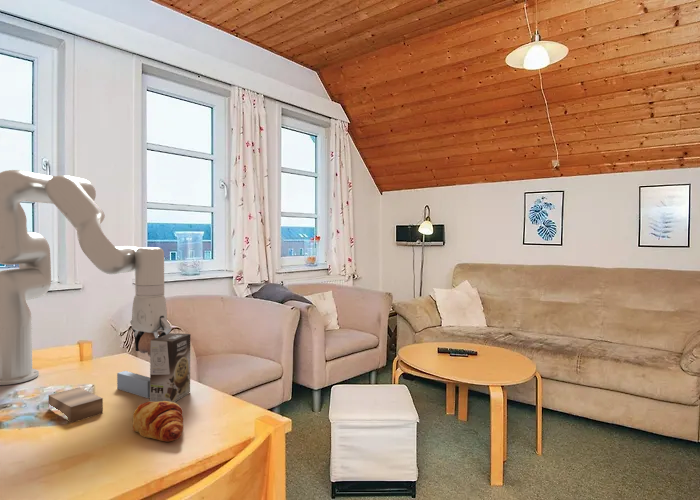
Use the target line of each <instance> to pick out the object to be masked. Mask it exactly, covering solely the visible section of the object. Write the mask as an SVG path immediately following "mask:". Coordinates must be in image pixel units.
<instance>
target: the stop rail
mask: <svg viewBox="0 0 700 500" xmlns="http://www.w3.org/2000/svg"><path fill="white" fill-rule="evenodd" d="M116 374H117V375H116V380H117V381H116V387H117V390H120V391H123V392H127V393H130V394H133V395H137V396H139V397H142V398H147V399H150V376H146V375H142V374H138V373H135V372H131V371H128V370H124V371H120V372H117V373H116Z"/></svg>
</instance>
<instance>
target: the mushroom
mask: <svg viewBox="0 0 700 500" xmlns="http://www.w3.org/2000/svg"><path fill="white" fill-rule="evenodd" d="M158 334H159V336H160V334H161V332H160V333H158ZM153 339H155V336H154V333H147V332H145V333H144V334H143V335H142V337H141V338H140V341H139V344H138V349H139V351H138V352H140V353H142V354H147V355H148V357H150V349H151V340H153Z"/></svg>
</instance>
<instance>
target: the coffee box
mask: <svg viewBox="0 0 700 500" xmlns="http://www.w3.org/2000/svg"><path fill="white" fill-rule="evenodd" d="M149 358H150V359H149V360H150V361H149V363H150V364H149V366H150V367H149V372H150V373H149V377H150V398H149V402H158V401H169V402H175V403H176V402H177V401H178V400H180V398H181V399H182V398H184V397H185V396H187V395H188V393H189V392H190V393H191V334H190V333H171V332H170V333H169V334H167V335H164V336H161V337H158V338H155V339H153V340H151V349H150V356H149ZM190 393H189V394H190ZM186 394H187V395H186ZM183 396H184V397H183Z"/></svg>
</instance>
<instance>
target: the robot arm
mask: <svg viewBox="0 0 700 500" xmlns="http://www.w3.org/2000/svg"><path fill="white" fill-rule="evenodd" d="M96 196H97V194H96V189H95V186H94V185H93V184H92V183H91V182H90V181H89V180H87V179H85V178H81V177H77V176H71V175H65V174H64V175H63V174H62V175H61V174H60V175H51V174H49V175H48V174H45V173H44V174H43V173H36V172H32V171H27V170H20V169H11V170H4V171H1V172H0V265H7V266H9V265H10V266H11V265H18V268H13V269H5V270H4V269H3V270H0V386H8V385H15V384H21V383H25V382H28V381H31V380H33V379H36V378H37V377H38V376H39V374H40V373H39V370H38V369H36V368H33V322H32V321H33V316H32V313H31V309H30V307H29V305H28V303H27V301H28V300H34V299H37V298H41V297H43V296H44V295H46V294H47V293H48V292H49V290H50V288H51V284H52V265H51V264H52V262H51V248H50V245H49V243H48V240H47V238H45V237H44V236H43V235H42V234H40V233H38V232H35V231H28V225H27V216H26V215H27V214H26V212H25V210H24V208H23V206H22V205H21V202H31V203H41V204H53V205H55V207H56V208H57V209H58V210H59V211H60V213H62V215H63V216H64V217H65V218H66V219H67V221H68V222H69V223H70V224H71V226H73V228H74V229H75V230H76V236H77V240H78V244H79V245H80V246H79V247H80V249H81V250H82V252H83V254H84V255H85V256H86V257H87V258H88V260H90V262H91V263H92V264H93V265H94V267H96V268H97V269H98V270H99V271H101V272H102V273H104V274H107V275H117V274H118V275H119V274H125V273H126V274H127V273H131V272H134V273H135V274H134V275H135V279H134V280H135V281H134V282H135V283H134V284H135V286H134V287H135V290H134V293H135V295H134V296H133V301H132V310H131V320H130V325H131V328H132V331H133V336H134V341H135V343H134V344H135V346H134V348H135V352H140V351H139V349H138V344H139V341H140V338H141V337H142V335H143V334H144V333H145V332H147V333H154V336H155V338H158V337H161V336H164V335H167V334H170V333H171V330H172V326H171V324H170V323H169V322H168V313H167V303H166V302H167V301H166V296H165V251H164V250H163V248H162V247H156V246H155V247H153V246H145V247H138V246H134V245H133V246H132V245H131V246H130V245H123V246H122V245H120V246H115V245H114V243H112V242H111V241H110V239H108V237H107V235H105V234H104V232H103V230H102V227H101V224H102V223H103V221H104V220H105V217H106V216H105V213H104V211H103V210H102V208H101V207H100V206H99V205H98V204H97V203H96V202H95V200H96ZM160 332H161V334H160V336H159V334H158V333H160Z"/></svg>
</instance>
